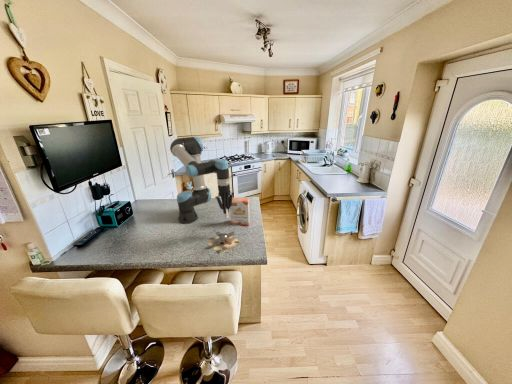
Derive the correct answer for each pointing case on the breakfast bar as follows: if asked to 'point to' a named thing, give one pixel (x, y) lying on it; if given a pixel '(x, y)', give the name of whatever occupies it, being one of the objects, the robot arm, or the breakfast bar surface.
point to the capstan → (223, 238)
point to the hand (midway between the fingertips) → (226, 217)
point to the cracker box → (240, 212)
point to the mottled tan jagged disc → (224, 247)
